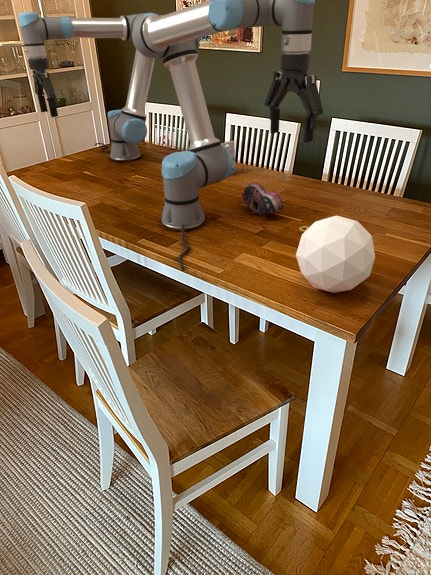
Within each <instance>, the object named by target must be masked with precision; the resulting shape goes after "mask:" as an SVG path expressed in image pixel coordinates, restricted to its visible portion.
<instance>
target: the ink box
mask: <svg viewBox="0 0 431 575" xmlns="http://www.w3.org/2000/svg"><path fill="white" fill-rule="evenodd" d="M220 143H221V146H223V147H225V148H226V149H227V150H228V151H229V152H230V154H231V157H232V169H231V172H230V174H229V176H231V175H235V174H236V147H235V140H230V141H226V142H220Z"/></svg>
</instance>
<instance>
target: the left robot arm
mask: <svg viewBox="0 0 431 575" xmlns="http://www.w3.org/2000/svg"><path fill="white" fill-rule="evenodd" d="M151 15H158V14H157V13H155V12H147V13H146V12H144V13H143V12H142V13H141V12H140V13H135V14H129V15H120V16H119V17H68V16H44V17H40V15H39V13H38V12H37V11H29V12H25V11H24V12H19V13H18V15H17V17H18V18H17V19H18V23H19V28H20V33H21V36H22V41H23V46H24V49H23V51H24V52H25V54H26V57H27V58H28V59H27V64H28V68H29V69H30V70H32V76H33V77H32V78H33V86H34V87H33V88H34V93H35V94H36V96H37V100H38V104H39V109H40V113H47V112H49V113H50V118H56V117H59V113H58V108H57V103H56V99H57V95H56V93H55V89H54V87H53V83H52V80H51V77H50V73H49V71H48V72H47V71H46V70H47V69H49V68H50V65H49V60H48V58H47V56H48V54H47V50H46V49H47V48H46V45H45V41H50V40H51V41H53V40H56V41H57V40H69V39H121V40H122V41H130V42H133V39H132V31H133V27H134V25H135V23H136V22H137V21H138V20H139V19H141V18H142V17H145V16H151ZM133 46H134V48H135V53H134V54H135V55H134V61H133V65H132V72H131V76H130V81H129V86H128V92H127V97H126V103H125V106H124V107H122V108H121V109H113V110H109V111H108V112H107V120H108V121H107V122H108V127H109V128H108V129H109V134H110V140H111V147H110V150H106V149H107V148H108V145H107V144H105V143H102V142H96V143H95V144H94V147H95V146H97V145H102V146H104V147H102V148H100V152H102V153H109V157H110V161H113V162H118V163H125V162H132V161H137V160H139V159H140V158H141V157H142V156H141V155H142V154H141V151H140V150H139V146H138V144H140V143H142V142H143V141H144V140H145V139H146V137H147V136H148V127H147V125H146V121H147V117H148V116H147V114H146V113H145V110H146V104H147V100H148V95H149V89H150V85H151V80H152V76H153V70H154V66H155V62H156V61H155V60H156V58H149V57H146V56H144V55H142V54H141V53H140V52H139V51H138V50H137V49H136V47H135V45H134V44H133ZM45 95H46V97H45ZM46 101H47V102H46ZM47 104H48V105H47ZM48 109H49V110H48Z"/></svg>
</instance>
